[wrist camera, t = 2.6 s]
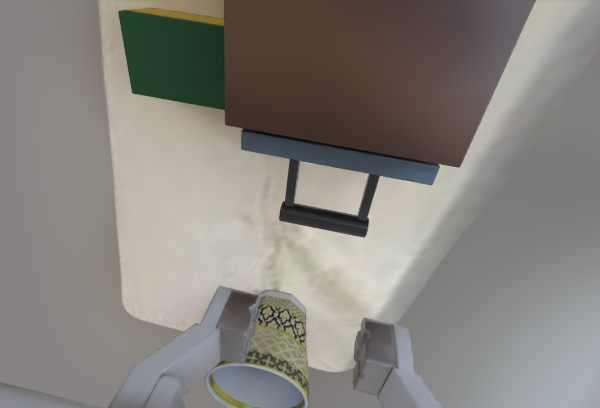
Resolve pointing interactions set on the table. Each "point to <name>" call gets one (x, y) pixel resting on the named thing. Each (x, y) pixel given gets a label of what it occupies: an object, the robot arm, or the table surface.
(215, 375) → the ceramic cup
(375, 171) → the drawer
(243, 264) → the table surface
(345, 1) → the cabinet
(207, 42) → the sponge
